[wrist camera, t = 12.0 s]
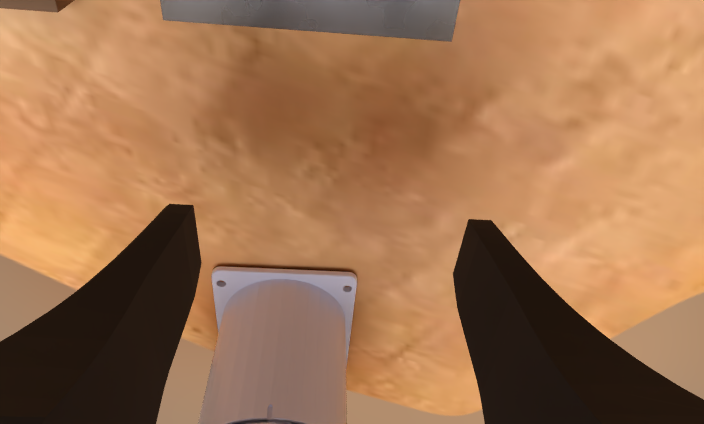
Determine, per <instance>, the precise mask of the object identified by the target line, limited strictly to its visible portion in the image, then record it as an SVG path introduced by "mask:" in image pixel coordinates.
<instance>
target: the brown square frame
mask: <svg viewBox="0 0 704 424" xmlns="http://www.w3.org/2000/svg"><path fill="white" fill-rule="evenodd" d="M73 1H74V0H0V8H6V9H20V10H33V11H47V12H59V11H61V10H62V9H63V8H65V7H66V6H67V5H69V4H70V3H71V2H73Z"/></svg>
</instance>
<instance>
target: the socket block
mask: <svg viewBox="0 0 704 424" xmlns="http://www.w3.org/2000/svg"><path fill="white" fill-rule="evenodd" d="M160 2H161V9H162V16H163V20H168V21H181V22H195V23H208V24H222V25H235V26H249V27H262V28H276V29H289V30H303V31H316V32H330V33H343V34H357V35H370V36H383V37H397V38H410V39H424V40H437V41H451V42H452V37H453V32H454V27H455V22H456V17H457V13H458V8H459V3H460V0H160Z"/></svg>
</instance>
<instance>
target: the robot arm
mask: <svg viewBox="0 0 704 424" xmlns="http://www.w3.org/2000/svg"><path fill="white" fill-rule="evenodd" d="M200 267H201V256H200V249H199V242H198V235H197V228H196V220H195V213H194V206H193V205H180V204H169V205H168V206H166V207H165V208H164V209H163V210H162V211H161V212H160V213H159V214H158V216H157V217H156V218H155V219H154V220H153V221H152V222H151V223H150V224H149V225H148V226H147V227H146V228H145V229H144V230H143V231H142V232H141V233H140V234H139V235H138V236H137V237H136V238H135V239H134V240H133V241H132V242H131V243H130V244H129V245H128V246H127V247H126V248H125V249H124V250H123V251H122V252H121V253H120V254H119V255H118V256H117V257H116V258H115V259H114V260H113V261H111V262H110V263H109V264H108V265H107V266H106V267H105V268H103V269H102V270H101V271H100V272H99V273H98V274H97V275H95V276H94V277H93V278H92V279H91V280H90V281H89V282H87V283H86V284H85V285H84V286H82V287H81V288H80V289H79V290H77V291H76V292H75V293H74V294H72V295H71V296H70V297H68V298H67V299H66V300H64V301H63V302H62V303H60V304H59V305H57V306H56V307H55V308H53V309H52V310H50V311H49V312H48V313H46V314H44V315H43V316H41V317H39V318H38V319H36V320H35V321H33V322H32V323H30V324H29V325H27V326H25V327H24V328H22V329H21V330H19V331H18V332H16V333H14V334H13V335H11V336H9V337H8V338H6V339H4V340H2V341H1V342H0V424H156V421H157V417H158V412H159V408H160V403H161V399H162V395H163V391H164V387H165V383H166V380H167V377H168V373H169V370H170V367H171V364H172V361H173V358H174V356H175V353H176V350H177V347H178V344H179V341H180V338H181V335H182V332H183V330H184V327H185V324H186V321H187V318H188V315H189V312H190V309H191V306H192V303H193V300H194V297H195V292H196V288H197V283H198V278H199V273H200ZM211 277H212V286H213V294H214V302H215V310H216V319H217V327H218V338H217V343H216V347H215V352H214V356H213V360H212V365H211V369H210V374H209V378H208V382H207V387H206V391H205V396H204V400H203V405H202V409H201V413H200V418H199V422H198V424H347V408H346V407H347V406H346V367H347V359H348V351H349V343H350V335H351V327H352V319H353V311H354V303H355V295H356V287H357V276H356V275H355V274H354V273H352V272H339V271H316V270H293V269H270V268H247V267H224V266H220V267H216V268H214V269H213V271H212V276H211ZM453 278H454V286H455V294H456V301H457V308H458V312H459V316H460V320H461V323H462V327H463V331H464V335H465V338H466V342H467V346H468V349H469V353H470V357H471V361H472V364H473V368H474V372H475V375H476V379H477V383H478V388H479V392H480V397H481V403H482V409H483V415H484V421H485V424H704V400H703V399H701V398H700V397H698V396H696V395H694V394H692V393H690V392H688V391H687V390H685V389H683V388H681V387H680V386H678V385H676V384H675V383H673V382H672V381H670V380H668V379H667V378H665V377H664V376H662V375H661V374H659V373H657V372H656V371H654V370H653V369H651V368H649V367H648V366H646V365H645V364H644V363H642V362H641V361H639V360H638V359H636V358H635V357H633V356H632V355H630V354H629V353H628V352H626V351H625V350H624V349H622V348H621V347H619V346H618V345H617V344H615V343H614V342H612V341H611V340H610V339H609V338H607V337H606V336H605V335H604V334H602V333H601V332H600V331H598V330H597V329H596V328H595V327H594V326H592V325H591V324H590V323H589V322H588V321H587V320H585V319H584V318H583V317H582V316H581V315H579V314H578V313H577V312H576V311H575V310H574V309H573V308H572V307H570V306H569V305H568V304H567V303H566V302H565V301H564V300H563V299H562V298H561V297H560V296H559V295H558V294H557V293H556V292H555V291H554V290H553V289H552V288H551V287H550V286H549V285H548V284H547V283H546V282H545V281H544V280H543V279H542V278H541V277H540V276H539V275H538V274H537V273H536V271H535V270H534V269H533V268H532V267H531V266H530V265H529V264H528V263H527V261H526V260H525V259H524V258H523V257H522V256H521V255H520V254H519V252H518V251H517V250H516V249H515V248H514V247H513V245H512V244H511V243H510V242H509V241H508V239H507V238H506V237H505V236H504V235H503V234H502V232H501V231H500V230H499V229H498V228H497V226H496V225H495V224H494V223H493V222H492V221H491V220H474V219H469V220H468V223H467V227H466V230H465V234H464V237H463V241H462V244H461V248H460V251H459V255H458V258H457V262H456V265H455V269H454V272H453ZM220 280H221V281H224V282H221V281H220ZM345 286H350V287H345Z"/></svg>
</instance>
